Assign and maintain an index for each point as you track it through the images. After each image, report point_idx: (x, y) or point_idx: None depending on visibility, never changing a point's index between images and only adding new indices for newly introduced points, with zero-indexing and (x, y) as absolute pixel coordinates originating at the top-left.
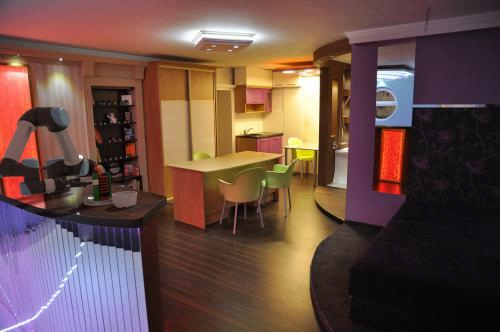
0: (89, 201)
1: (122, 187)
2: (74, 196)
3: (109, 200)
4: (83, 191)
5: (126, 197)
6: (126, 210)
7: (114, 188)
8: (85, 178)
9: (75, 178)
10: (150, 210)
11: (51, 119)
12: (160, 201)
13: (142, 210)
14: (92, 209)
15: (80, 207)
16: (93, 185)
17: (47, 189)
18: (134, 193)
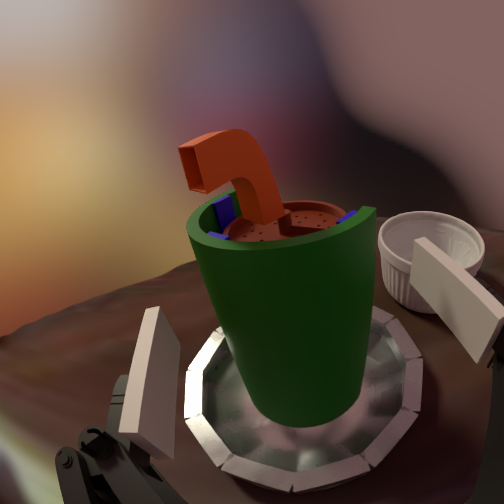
0: (405, 432)
1: (75, 305)
2: (47, 481)
3: (401, 326)
4: (7, 414)
5: (473, 234)
6: (494, 272)
7: (63, 325)
8: (154, 377)
9: (85, 486)
10: (484, 228)
11: None
12: (386, 217)
13: (487, 240)
14: (484, 400)
15: (415, 492)
16: (335, 345)
17: None
18: (397, 224)
